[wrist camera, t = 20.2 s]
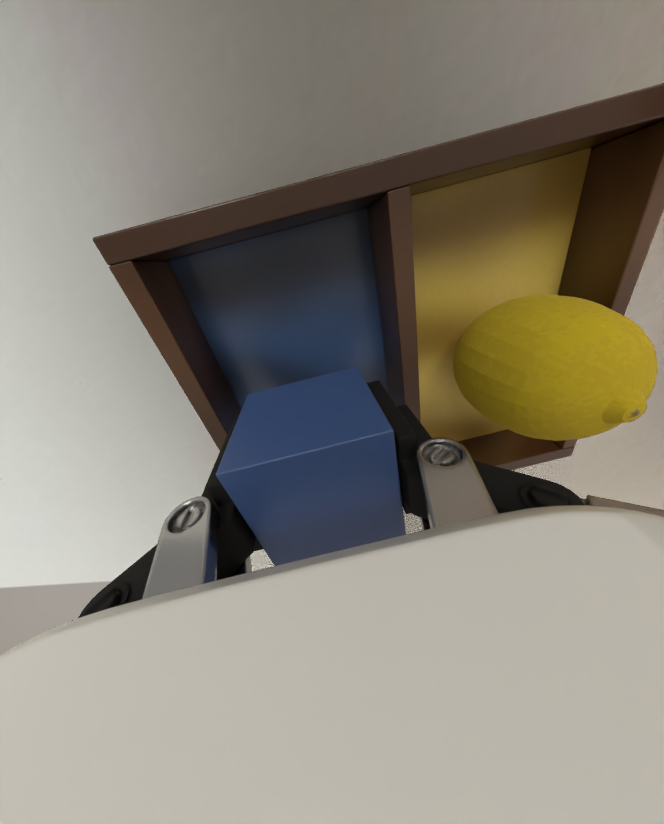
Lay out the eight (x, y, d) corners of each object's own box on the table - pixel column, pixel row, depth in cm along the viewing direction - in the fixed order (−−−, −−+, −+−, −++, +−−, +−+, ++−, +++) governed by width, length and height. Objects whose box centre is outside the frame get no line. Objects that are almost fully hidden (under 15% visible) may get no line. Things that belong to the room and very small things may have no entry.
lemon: (482, 262, 12) (717, 262, 5) (542, 325, 14) (767, 384, 7) (407, 356, 14) (507, 443, 7) (468, 400, 16) (591, 500, 9)
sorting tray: (148, 244, 11) (90, 237, 8) (597, 123, 11) (719, 67, 8) (272, 487, 19) (267, 530, 16) (527, 424, 19) (571, 455, 16)
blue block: (247, 393, 10) (214, 475, 6) (357, 365, 10) (394, 430, 6) (283, 473, 12) (276, 568, 8) (372, 451, 12) (406, 537, 8)
